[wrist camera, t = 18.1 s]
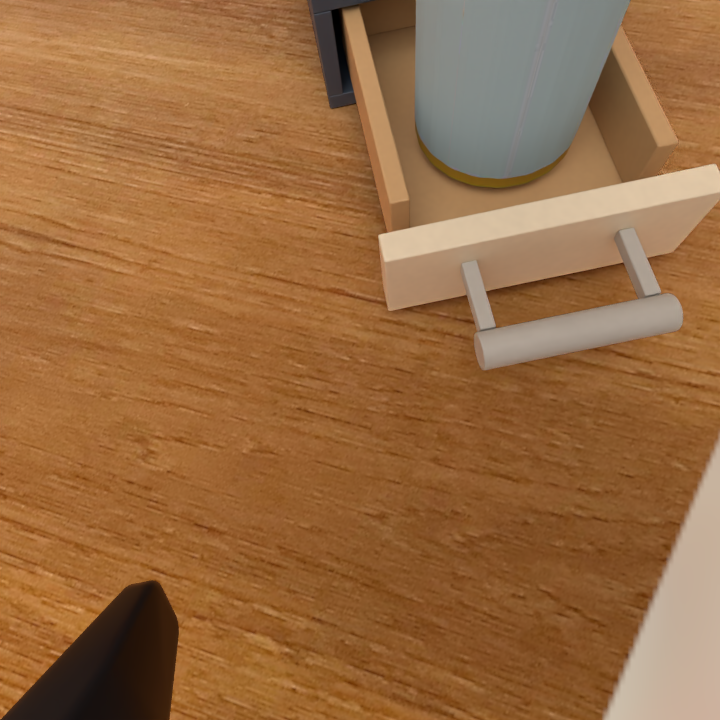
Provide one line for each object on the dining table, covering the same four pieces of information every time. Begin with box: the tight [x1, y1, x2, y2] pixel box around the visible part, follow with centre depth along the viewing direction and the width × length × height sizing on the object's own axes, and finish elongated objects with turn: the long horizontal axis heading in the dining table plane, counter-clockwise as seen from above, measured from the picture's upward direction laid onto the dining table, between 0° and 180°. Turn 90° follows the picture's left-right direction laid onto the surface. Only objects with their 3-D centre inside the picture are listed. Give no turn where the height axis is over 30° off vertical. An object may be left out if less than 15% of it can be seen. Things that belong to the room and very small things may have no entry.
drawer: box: [338, 0, 720, 370], centre depth 23 cm, size 20×12×4 cm, turn 11°
